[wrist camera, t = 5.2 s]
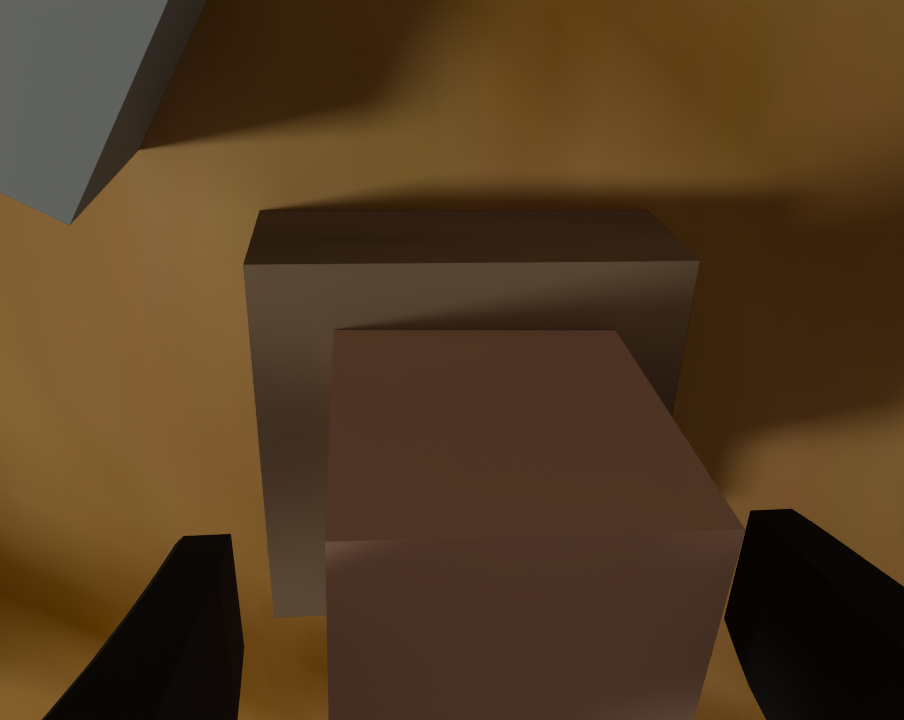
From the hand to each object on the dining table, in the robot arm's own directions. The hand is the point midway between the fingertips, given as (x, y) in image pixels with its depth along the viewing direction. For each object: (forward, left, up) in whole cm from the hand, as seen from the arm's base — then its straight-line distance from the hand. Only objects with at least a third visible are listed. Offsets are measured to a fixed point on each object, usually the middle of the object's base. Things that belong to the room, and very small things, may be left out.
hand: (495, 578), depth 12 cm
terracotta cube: (0, 0, -3) cm, 3 cm away
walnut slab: (0, 0, -6) cm, 6 cm away
